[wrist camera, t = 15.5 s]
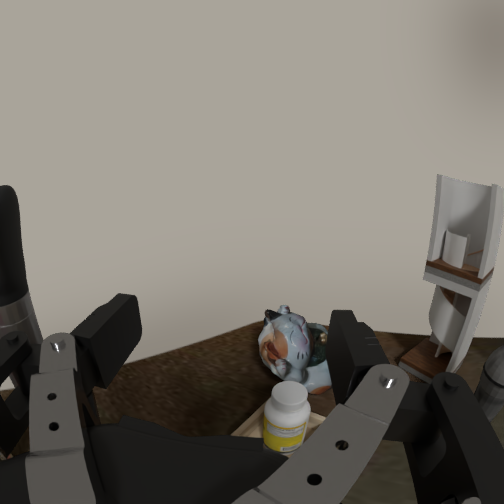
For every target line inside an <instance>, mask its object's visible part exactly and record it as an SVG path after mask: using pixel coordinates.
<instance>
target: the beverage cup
mask: <svg viewBox="0 0 504 504" xmlns="http://www.w3.org/2000/svg"><path fill="white" fill-rule="evenodd" d="M474 396H475V397H476V399H477V401H478V402H479V404H480V406H481V408H482V409H483V411H484V413H485V415H486V417H487V418H488V420H489V422H491V421H492V420H493V418H494V417H495V416H496V415H497V413H498V412H499V411H500V409H501V408H502V407H503V405H504V345H503V346H501V347H499V348H498V349H496V350H495V351H494V352H493V353H492V354H491V355H490V357H489V358H488V360H487V361H486V362H485V364H484V366H483V371H482V374H481V377H480V382H479V384H478V386H477V388H476V391H475V393H474Z"/></svg>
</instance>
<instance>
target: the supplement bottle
mask: <svg viewBox="0 0 504 504" xmlns="http://www.w3.org/2000/svg"><path fill="white" fill-rule="evenodd" d="M307 396H308V392H307V389H306V388H305V386H303V385H302V384H300V383H298V382H295V381H283V382H280V383H278V384H276V385H275V386H274V387H273V389H272V394H271V398H270V399H269V400H268V401H267V402H266V404H265V408H264V421H263V434H262V438H264V443H263V444H264V446H265V448H266V449H270V450H273V451H276V452H278V453H281V454H283V455H289V454H292V453H294V452H296V451H297V450H298V449H299V448H300V447H301V445H302V444H303V441H304V438H305V434H306V429H307V425H308V421H309V416H310V410H311V409H310V405H309V403H308V401H307Z"/></svg>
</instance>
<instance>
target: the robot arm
mask: <svg viewBox="0 0 504 504" xmlns="http://www.w3.org/2000/svg"><path fill="white" fill-rule="evenodd" d="M141 335H142V325H141V319H140V313H139V306H138V301H137V297H136V296H135V295H129V294H121V293H119V294H117V295H116V296H115V297H114V298H113V299H112V300H110V301H109V302H108V303H106V304H104V305H102V306H100V307H98V308H97V309H96V310H95V311H94V312H92V314H91V315H89V316H88V317H87V318H86V320H84V321H83V322H82V323H81V324H79V325H78V326H77V327H76V328H75V329H74V330H73V331H72V332H71V333H70V334H68V333H56V334H53V335H50V336H48V337H47V338H46V339H45V340H43V338H42V335H41V331H40V328H39V325H38V322H37V319H36V315H35V312H34V308H33V305H32V301H31V297H30V293H29V289H28V284H27V279H26V270H25V262H24V256H23V249H22V239H21V226H20V212H19V204H18V199H17V195H16V193H15V191H14V189H13V188H12V187H11V186H8V185H3V186H0V386H1V384H2V383H3V382H4V380H6V378H7V377H8V376H9V377H10V379H11V380H12V383H13V384H14V387H15V389H14V391H13V392H12V393H11V394H10V395H9V397H8V398H7V399H6V400H5V402H4V400H3V399H2V397H1V395H0V504H342V503H341V501H342V499H343V498H344V497H345V495H346V494H347V493H348V491H349V490H350V488H351V487H352V486H353V484H354V483H355V481H356V480H357V478H358V477H359V475H360V474H361V472H362V471H363V469H364V468H365V466H366V465H367V463H368V461H369V460H370V458H371V457H372V455H373V453H374V452H375V450H376V448H377V447H378V445H379V443H380V441H381V440H382V439H383V440H391V441H400V442H403V444H404V448H405V451H406V455H407V459H408V463H409V467H410V471H411V475H412V479H413V483H414V488H415V492H416V497H417V502H418V504H504V449H503V447H502V445H501V443H500V441H499V439H498V437H497V435H496V433H495V431H494V430H493V428H492V426H491V424H490V422H489V420H488V418H487V417H486V415H485V413H484V411H483V409H482V408H481V406H480V404H479V402H478V401H477V399H476V397H475V396H474V394H473V392H472V391H471V389H470V387H469V386H468V384H467V382H466V381H465V380H464V379H463V378H462V377H461V376H459V375H457V374H455V373H451V372H441V373H438V374H436V375H435V376H434V378H433V380H432V382H431V384H428V383H420V382H413V381H409V377H408V375H407V373H406V372H405V371H404V370H402V369H401V368H399V367H397V366H394V365H390V363H389V361H388V359H387V357H386V355H385V353H384V351H383V349H382V347H381V345H379V341H378V340H377V338H376V336H375V334H374V332H373V330H372V329H371V328H370V327H369V326H368V325H366V324H365V323H364V322H357V320H356V318H355V316H354V314H353V312H352V310H333V311H332V314H331V319H330V324H329V330H328V335H327V340H326V347H325V355H326V361H327V365H328V369H329V374H330V378H331V383H332V387H333V392H334V397H335V402H336V407H335V408H334V409H333V411H332V412H331V413H330V414H329V415H328V417H327V418H326V419H325V420H324V421H323V422H322V424H321V425H320V426H319V427H318V428H317V429H316V430H315V431H314V433H313V434H312V435H311V436H310V437H309V438H308V439H307V440H306V441H305V442H304V443H303V444H302V445H301V447H300V448H299V449H298V450H297V451H296V452H295V453H294V454H293V455H292V456H291V457H290V458H289V457H287V456H285V455H283V454H281V453H278V452H276V451H273V450H270V449H266V448H263V443H264V438H257V437H243V436H232V435H219V436H201V437H187V436H183V435H181V434H178V433H176V432H174V431H171V430H169V429H167V428H165V427H162V426H160V425H158V424H156V423H153V422H149V421H145V420H141V419H137V418H133V417H129V416H126V415H123V416H122V418H121V420H120V421H119V423H118V424H117V423H114V424H101V421H100V417H99V413H98V409H97V404H96V400H95V395H94V392H93V390H92V389H93V388H94V386H97V387H101V388H104V389H107V387H108V386H109V384H110V383H111V381H112V380H113V378H114V377H115V375H116V374H117V373H118V371H119V370H120V368H121V367H122V365H123V364H124V362H125V361H126V360H127V358H128V357H129V355H130V354H131V352H132V351H133V350H134V348H135V347H136V345H137V344H138V342H139V341H140V339H141ZM28 426H29V437H30V451H29V452H26V453H23V454H20V455H17V456H14V457H11V458H8V456H9V455H10V453H11V452H12V450H13V448H14V447H15V445H16V444H17V442H18V441H19V439H20V438H21V436H22V435H23V433H24V432H25V430H26V429H27V427H28ZM7 458H8V459H7Z"/></svg>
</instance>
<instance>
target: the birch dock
mask: <svg viewBox="0 0 504 504" xmlns="http://www.w3.org/2000/svg"><path fill="white" fill-rule="evenodd" d="M270 398H271V397H270ZM270 398H269V399H270ZM269 399H268V400H269ZM268 400H267V401H268ZM267 401H266V402H267ZM266 402H265V403H264V404H263V405H262V406H261V407H260V408H259V409H258V410H257V411H256V412H255V413H254V414H253V415H252V416H251V417H249V418H248V419H247V420H246V421H245V422H244V423H243V424H242V425H241V426H240V427H239V428H238V429H237V430H236V431H234V432H233V433H232V434H231V435H232V436H243V437H257V438H262V434H263V421H264V408H265V404H266ZM325 419H326V418H325V417H323V416H320V415H318V414H315V413H312V412H310V416H309V421H308V425H307V429H306V434H305V438H304V441H303V443H304V442H305V441H306V440H307V439H308V438H309V437H310V436H311V435H312V434H313V433H314V431H315V430H316V429H317V428H318V427H319V426H320V425H321V424H322V422H323V421H324V420H325ZM263 448H265V446H264V444H263ZM294 453H295V452H294ZM294 453H292V454H289V455H285V456H287V457H289V458H290V457H291V456H292V455H293V454H294Z"/></svg>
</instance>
